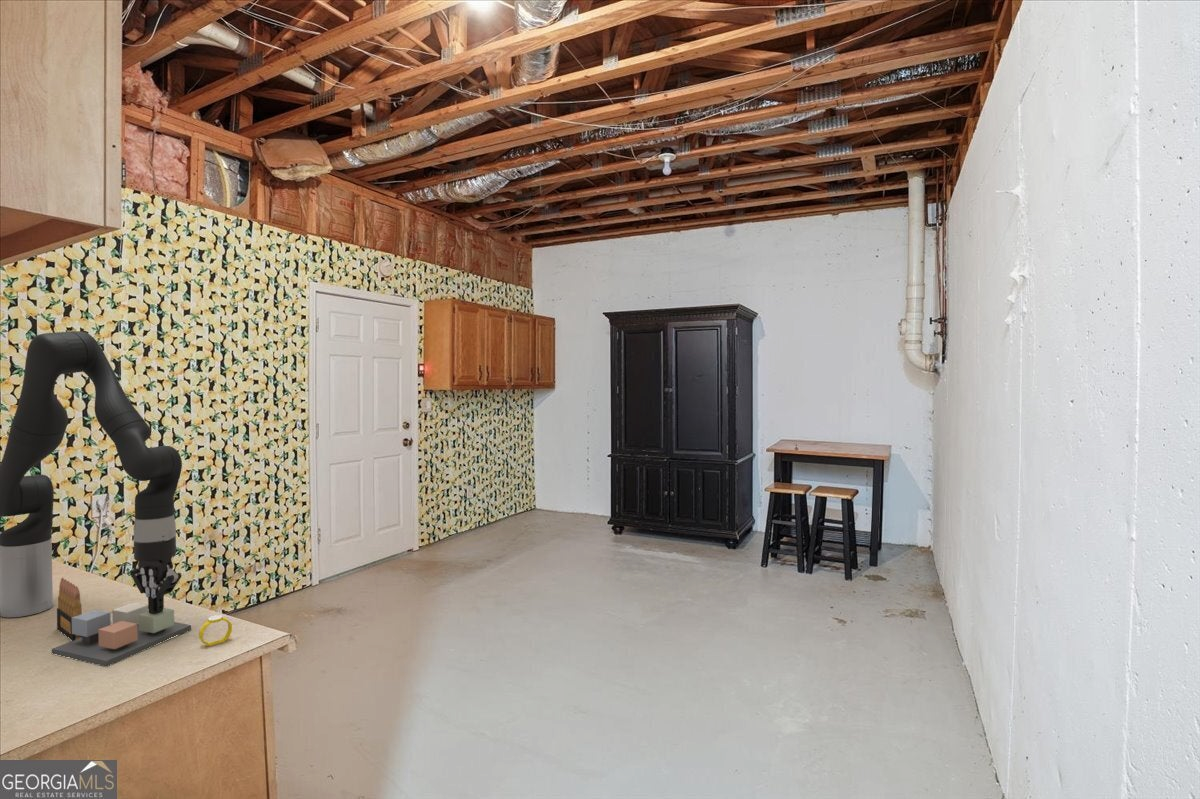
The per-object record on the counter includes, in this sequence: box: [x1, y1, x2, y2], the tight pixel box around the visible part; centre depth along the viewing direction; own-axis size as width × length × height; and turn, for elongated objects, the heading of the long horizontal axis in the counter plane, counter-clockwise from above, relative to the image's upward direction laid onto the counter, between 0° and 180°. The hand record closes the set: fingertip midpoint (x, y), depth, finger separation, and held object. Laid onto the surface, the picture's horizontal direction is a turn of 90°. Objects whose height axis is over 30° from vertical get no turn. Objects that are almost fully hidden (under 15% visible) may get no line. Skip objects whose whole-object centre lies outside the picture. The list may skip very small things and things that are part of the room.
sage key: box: [138, 607, 175, 633], centre depth 132 cm, size 5×5×4 cm
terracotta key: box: [98, 621, 138, 649], centre depth 125 cm, size 5×5×4 cm
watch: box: [198, 614, 233, 647], centre depth 130 cm, size 6×3×6 cm, turn 139°
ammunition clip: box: [56, 577, 83, 641], centre depth 133 cm, size 11×2×12 cm, turn 57°
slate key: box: [72, 609, 112, 637], centre depth 127 cm, size 5×5×4 cm
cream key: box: [111, 602, 149, 624], centre depth 135 cm, size 5×5×4 cm
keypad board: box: [51, 621, 192, 667], centre depth 130 cm, size 16×18×4 cm
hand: (156, 612), depth 132 cm, fingers closed
